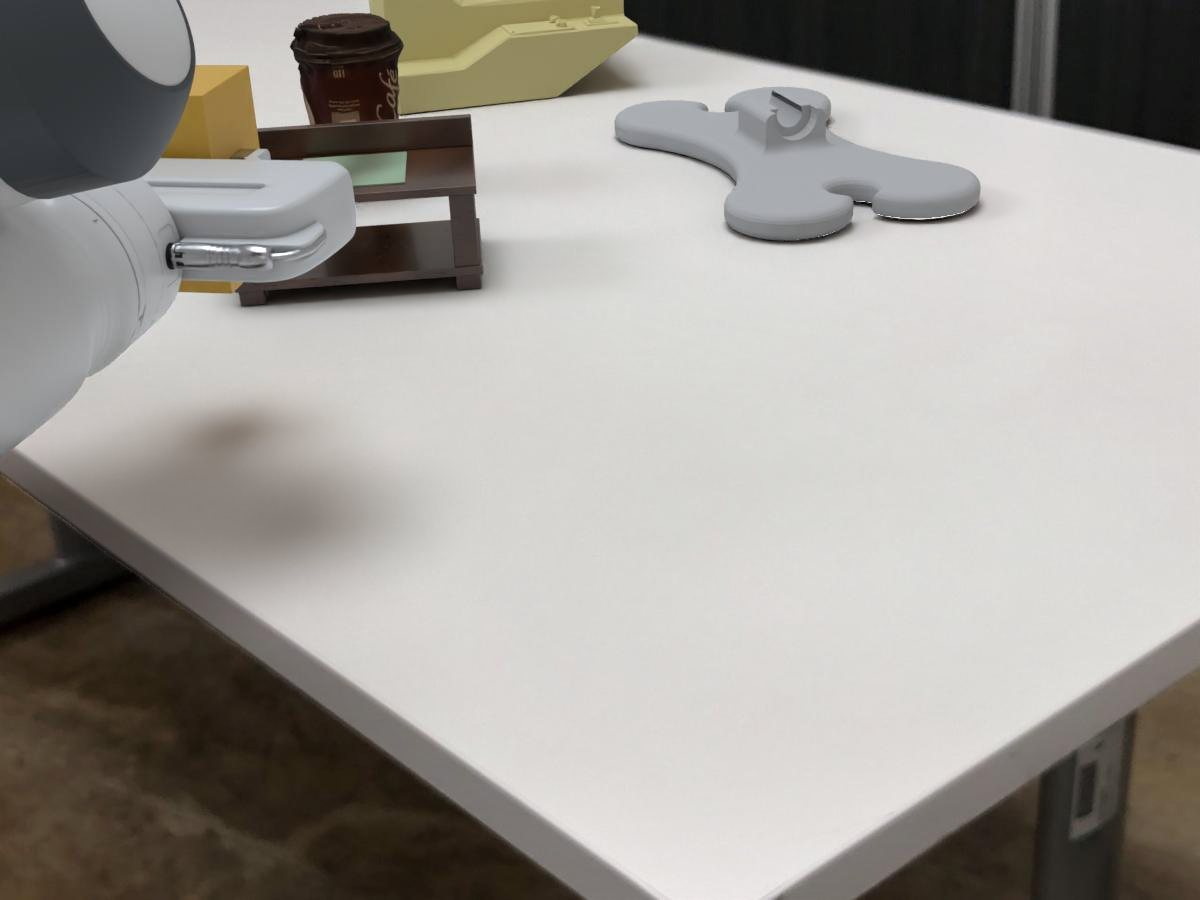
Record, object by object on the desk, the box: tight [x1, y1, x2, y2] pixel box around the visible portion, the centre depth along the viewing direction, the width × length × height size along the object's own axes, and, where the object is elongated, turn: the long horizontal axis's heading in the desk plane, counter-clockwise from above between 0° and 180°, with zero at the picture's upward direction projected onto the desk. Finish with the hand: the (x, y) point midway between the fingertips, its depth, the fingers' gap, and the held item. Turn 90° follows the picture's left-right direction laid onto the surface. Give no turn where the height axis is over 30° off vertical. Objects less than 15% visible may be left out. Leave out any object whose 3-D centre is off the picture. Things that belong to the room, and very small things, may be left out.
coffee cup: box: [289, 12, 404, 125], centre depth 120 cm, size 9×8×13 cm
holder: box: [614, 86, 981, 241], centre depth 122 cm, size 19×34×5 cm, turn 18°
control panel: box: [368, 0, 639, 115], centre depth 151 cm, size 24×16×20 cm
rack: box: [234, 113, 484, 307], centre depth 104 cm, size 16×10×9 cm, turn 95°
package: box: [160, 64, 260, 295], centre depth 79 cm, size 5×6×10 cm
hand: (198, 162), depth 80 cm, fingers closed on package, 5 cm apart
